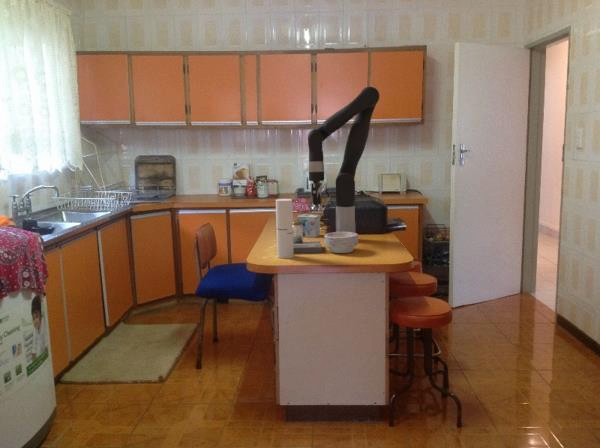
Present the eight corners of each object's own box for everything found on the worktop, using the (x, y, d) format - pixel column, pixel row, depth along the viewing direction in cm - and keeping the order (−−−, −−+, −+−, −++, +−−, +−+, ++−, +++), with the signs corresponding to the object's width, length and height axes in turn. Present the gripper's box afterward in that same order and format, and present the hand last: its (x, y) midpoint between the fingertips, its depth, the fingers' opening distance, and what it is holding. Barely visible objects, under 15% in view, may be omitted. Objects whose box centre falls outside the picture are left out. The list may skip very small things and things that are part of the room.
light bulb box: (296, 236, 283) (296, 216, 281) (301, 234, 289) (301, 214, 287) (315, 237, 279) (315, 216, 277) (320, 235, 285) (320, 214, 283)
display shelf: (320, 246, 257) (320, 238, 257) (321, 252, 244) (321, 244, 244) (284, 247, 257) (284, 239, 257) (283, 253, 244) (283, 244, 244)
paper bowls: (324, 248, 254) (324, 231, 253) (357, 247, 254) (356, 230, 253) (324, 255, 239) (324, 237, 238) (359, 255, 239) (359, 237, 238)
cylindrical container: (277, 254, 242) (275, 199, 238) (293, 254, 243) (291, 198, 238) (277, 258, 235) (276, 201, 231) (294, 258, 236) (292, 200, 231)
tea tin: (300, 241, 257) (300, 220, 255) (304, 243, 252) (304, 222, 250) (289, 242, 255) (288, 221, 253) (293, 245, 250) (292, 223, 248)
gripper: (321, 170, 257) (322, 205, 258) (326, 170, 270) (327, 203, 272) (305, 171, 258) (306, 205, 260) (311, 171, 272) (312, 203, 273)
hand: (317, 204), depth 266 cm, fingers open, 8 cm apart
